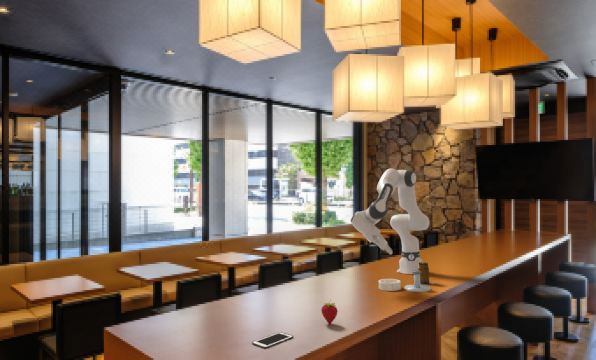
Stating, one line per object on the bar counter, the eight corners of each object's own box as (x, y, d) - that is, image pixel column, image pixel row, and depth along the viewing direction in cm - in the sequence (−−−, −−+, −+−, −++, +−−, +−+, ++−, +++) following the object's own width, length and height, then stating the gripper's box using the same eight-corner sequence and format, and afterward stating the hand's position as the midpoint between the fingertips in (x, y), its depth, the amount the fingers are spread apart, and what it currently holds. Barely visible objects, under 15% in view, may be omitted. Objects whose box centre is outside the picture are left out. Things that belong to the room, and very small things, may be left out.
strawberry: (328, 320, 170) (327, 296, 170) (341, 324, 164) (340, 299, 164) (318, 323, 166) (317, 299, 166) (331, 327, 160) (330, 302, 160)
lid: (403, 286, 229) (403, 268, 229) (429, 286, 226) (428, 268, 226) (404, 291, 215) (404, 273, 216) (432, 292, 212) (431, 273, 213)
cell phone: (250, 345, 145) (250, 342, 145) (280, 334, 155) (280, 331, 155) (265, 350, 139) (265, 347, 139) (294, 338, 150) (294, 335, 150)
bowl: (378, 285, 231) (378, 278, 231) (400, 286, 228) (400, 279, 228) (378, 290, 219) (378, 283, 219) (400, 291, 217) (400, 283, 217)
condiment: (422, 281, 239) (421, 261, 240) (435, 283, 233) (434, 262, 233) (415, 283, 235) (414, 262, 235) (428, 285, 228) (427, 264, 229)
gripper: (376, 232, 217) (395, 250, 215) (377, 230, 237) (395, 246, 234) (368, 240, 218) (387, 259, 215) (370, 237, 238) (387, 254, 235)
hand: (391, 252), depth 225 cm, fingers open, 8 cm apart
